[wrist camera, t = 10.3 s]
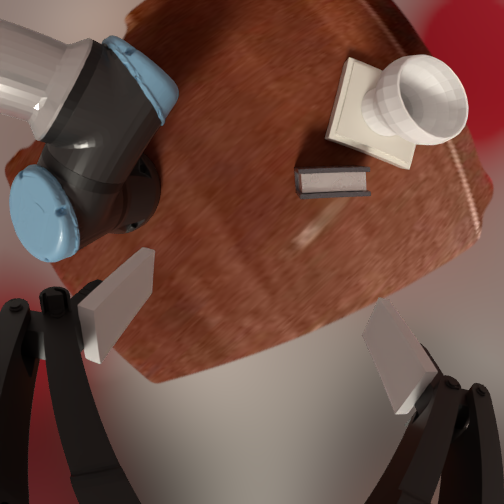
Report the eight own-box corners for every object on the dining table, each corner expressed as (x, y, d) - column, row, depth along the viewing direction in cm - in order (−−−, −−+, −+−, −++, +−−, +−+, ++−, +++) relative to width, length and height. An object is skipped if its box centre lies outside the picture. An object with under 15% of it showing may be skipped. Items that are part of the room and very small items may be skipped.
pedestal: (324, 139, 41) (329, 137, 37) (344, 63, 36) (350, 55, 33) (401, 168, 41) (411, 169, 37) (418, 95, 37) (429, 91, 33)
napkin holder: (295, 192, 44) (300, 199, 37) (294, 167, 43) (298, 169, 36) (356, 189, 43) (370, 196, 37) (355, 165, 42) (369, 167, 35)
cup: (372, 66, 33) (416, 32, 19) (424, 110, 34) (482, 98, 20) (338, 116, 36) (373, 96, 22) (394, 159, 37) (448, 165, 23)
